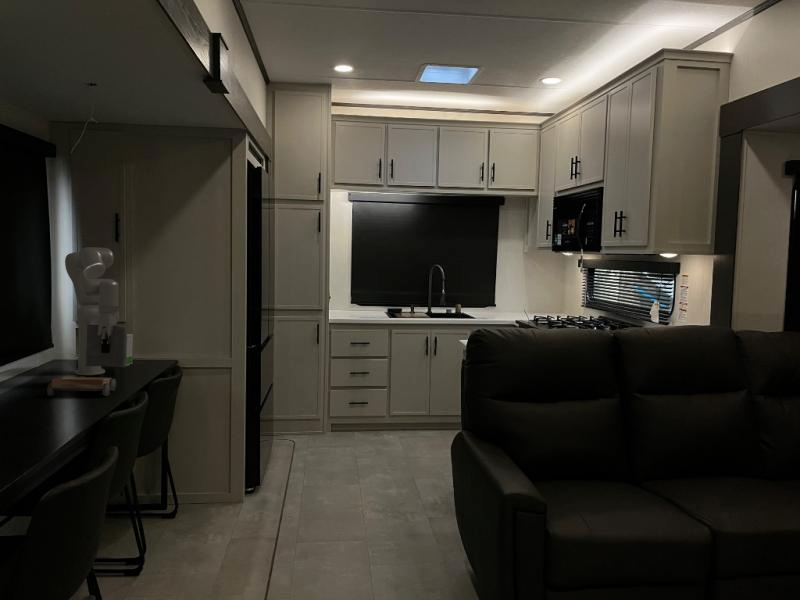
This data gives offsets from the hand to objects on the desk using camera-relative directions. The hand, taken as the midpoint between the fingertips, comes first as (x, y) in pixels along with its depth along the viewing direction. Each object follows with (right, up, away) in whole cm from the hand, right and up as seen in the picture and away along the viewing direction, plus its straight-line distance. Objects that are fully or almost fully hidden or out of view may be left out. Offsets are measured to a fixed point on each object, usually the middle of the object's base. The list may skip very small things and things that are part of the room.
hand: (106, 351), depth 257 cm
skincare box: (-13, -11, +41) cm, 45 cm away
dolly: (0, -15, -19) cm, 24 cm away
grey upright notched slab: (0, -6, +1) cm, 7 cm away
